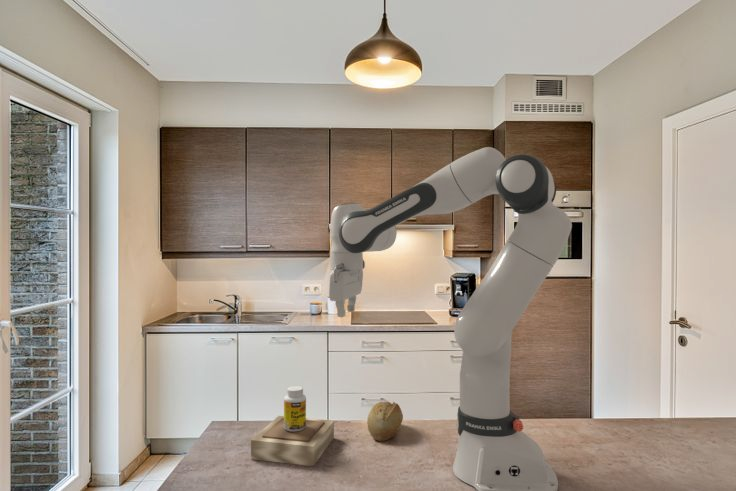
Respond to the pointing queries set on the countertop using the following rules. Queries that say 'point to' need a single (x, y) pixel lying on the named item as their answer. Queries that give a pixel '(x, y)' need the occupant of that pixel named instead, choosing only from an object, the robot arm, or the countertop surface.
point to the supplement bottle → (294, 409)
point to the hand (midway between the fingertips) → (346, 314)
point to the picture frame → (293, 442)
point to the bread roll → (384, 420)
